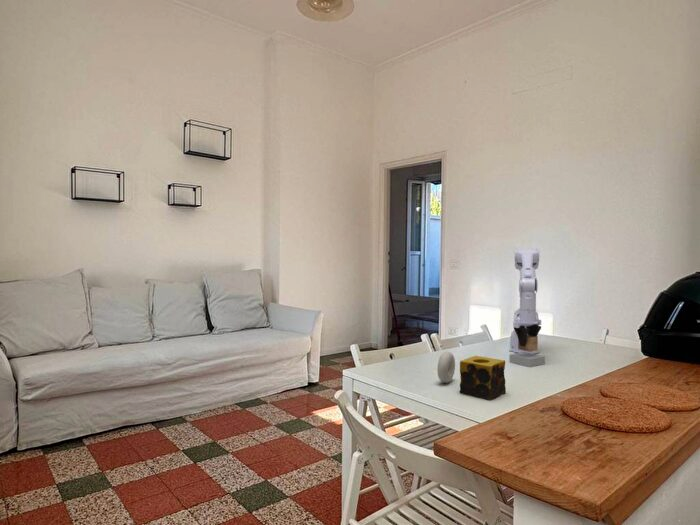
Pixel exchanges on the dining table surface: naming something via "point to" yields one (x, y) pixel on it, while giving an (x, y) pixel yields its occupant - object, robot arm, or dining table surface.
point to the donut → (446, 367)
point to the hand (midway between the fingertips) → (527, 345)
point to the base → (527, 359)
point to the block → (530, 344)
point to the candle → (482, 377)
